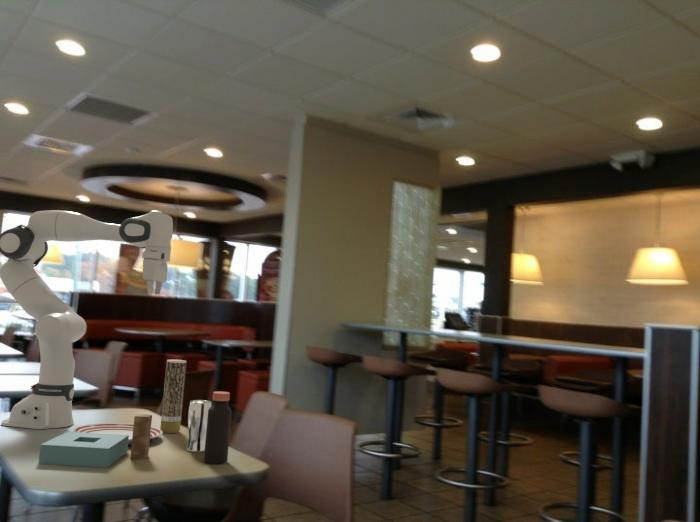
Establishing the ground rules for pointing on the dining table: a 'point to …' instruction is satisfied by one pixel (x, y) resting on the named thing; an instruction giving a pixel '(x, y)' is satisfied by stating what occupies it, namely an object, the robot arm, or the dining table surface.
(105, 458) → the socket block
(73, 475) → the dining table surface
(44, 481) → the dining table surface
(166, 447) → the dining table surface
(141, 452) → the walnut peg
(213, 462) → the bottle
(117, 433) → the dinner plate
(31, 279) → the robot arm
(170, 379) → the paper tube
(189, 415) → the silver drink can
